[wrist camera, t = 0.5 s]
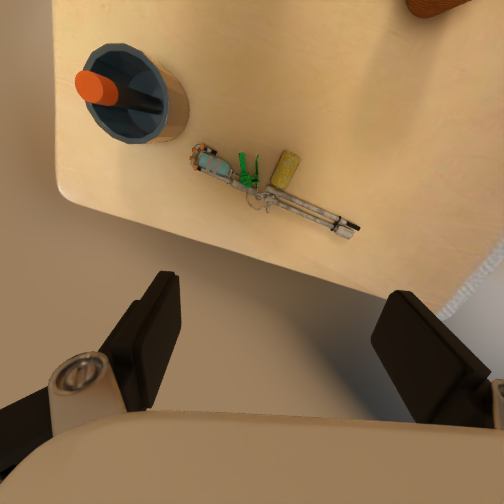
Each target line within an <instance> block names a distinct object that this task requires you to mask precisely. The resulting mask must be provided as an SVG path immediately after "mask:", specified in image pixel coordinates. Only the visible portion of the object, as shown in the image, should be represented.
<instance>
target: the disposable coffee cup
mask: <svg viewBox="0 0 504 504" xmlns="http://www.w3.org/2000/svg"><path fill="white" fill-rule="evenodd" d="M468 1H471V0H406V2H407V5H408V7H409V9H410V11H411V12H412V13H413V14H414V15H416V16H418V17H421V18H429V17H433V16H435V15H438V14H440V13H442V12H445V11H447V10H449V9H452V8H454V7H456V6H459V5H461V4H464V3H466V2H468Z"/></svg>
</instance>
